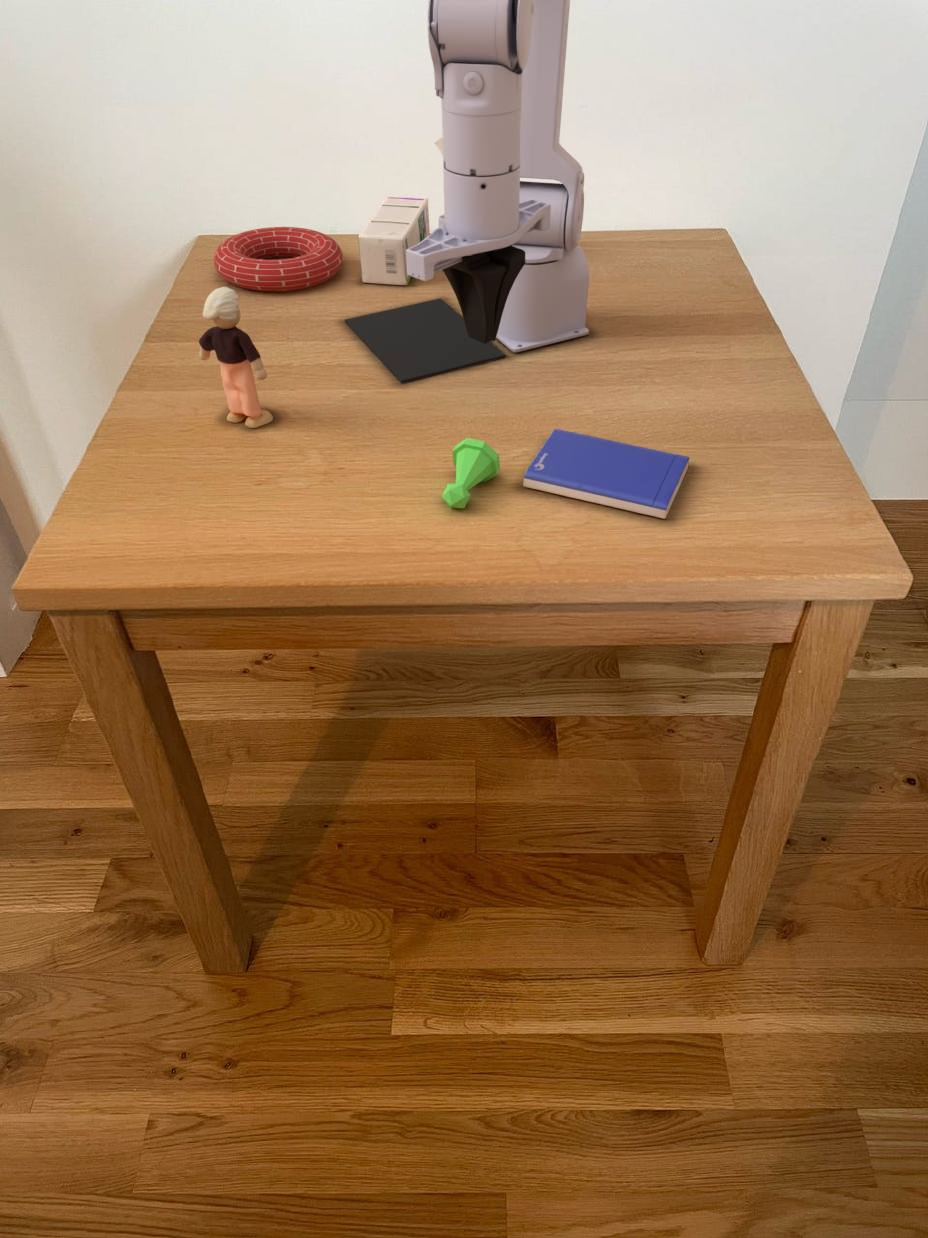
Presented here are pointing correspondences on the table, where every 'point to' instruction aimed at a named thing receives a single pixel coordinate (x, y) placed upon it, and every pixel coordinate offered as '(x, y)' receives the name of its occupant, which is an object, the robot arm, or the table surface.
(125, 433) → the table surface
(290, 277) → the torus
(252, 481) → the table surface
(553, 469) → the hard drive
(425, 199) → the syrup box
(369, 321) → the mat
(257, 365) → the grandmother figurine
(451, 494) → the game piece
